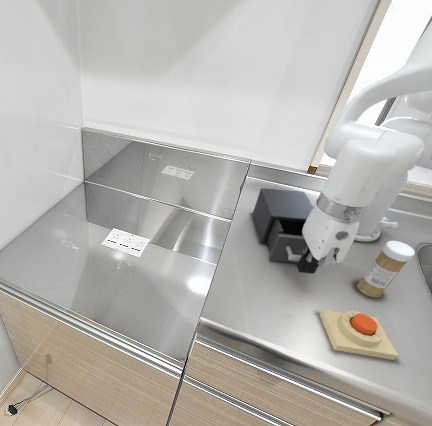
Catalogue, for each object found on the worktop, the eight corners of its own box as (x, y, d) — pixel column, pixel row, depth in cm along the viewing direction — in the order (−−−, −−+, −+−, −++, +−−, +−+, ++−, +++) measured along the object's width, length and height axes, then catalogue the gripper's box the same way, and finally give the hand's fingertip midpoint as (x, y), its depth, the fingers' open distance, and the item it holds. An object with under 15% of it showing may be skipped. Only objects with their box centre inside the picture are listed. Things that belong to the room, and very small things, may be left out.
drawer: (320, 278, 69) (335, 254, 64) (273, 272, 71) (284, 248, 66) (299, 233, 82) (310, 210, 77) (260, 228, 84) (268, 206, 79)
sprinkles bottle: (383, 292, 67) (419, 249, 59) (374, 301, 65) (410, 258, 57) (361, 279, 70) (392, 236, 62) (352, 288, 68) (382, 245, 60)
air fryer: (307, 248, 78) (321, 220, 73) (260, 243, 80) (271, 215, 75) (292, 218, 89) (304, 191, 83) (252, 214, 91) (260, 188, 85)
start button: (367, 320, 58) (371, 315, 57) (376, 337, 55) (381, 331, 54) (347, 317, 58) (351, 312, 57) (355, 333, 55) (359, 328, 54)
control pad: (372, 322, 61) (381, 312, 59) (393, 360, 54) (404, 350, 52) (319, 314, 62) (326, 304, 60) (333, 350, 56) (342, 340, 54)
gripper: (384, 231, 49) (336, 299, 60) (345, 185, 61) (311, 249, 72) (334, 226, 50) (296, 294, 61) (306, 182, 62) (278, 246, 73)
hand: (305, 270), depth 66 cm, fingers closed
